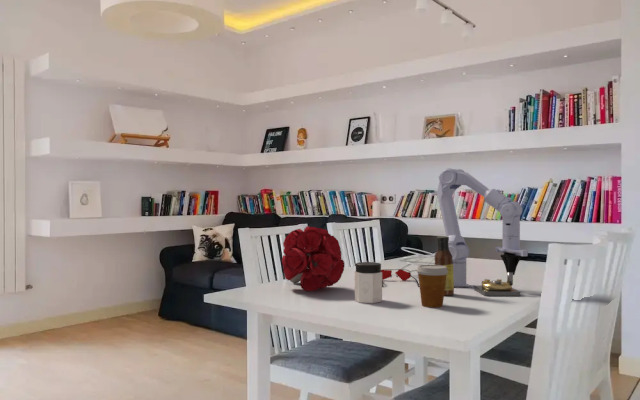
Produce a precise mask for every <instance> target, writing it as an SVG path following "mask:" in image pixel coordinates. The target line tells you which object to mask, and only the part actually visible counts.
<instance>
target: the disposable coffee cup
mask: <svg viewBox="0 0 640 400" xmlns="http://www.w3.org/2000/svg"><path fill="white" fill-rule="evenodd" d="M415 271H416V273H417V277H418V284H419V292H420V293H419V294H420V300H421V306H423V307H426V308H441V307H443V304H444V297H445V295H444V291H445V283H446V275H447V272H448V271H447V267H446V266H442V265H435V264H420V265H418V266H417V269H416V270H415Z"/></svg>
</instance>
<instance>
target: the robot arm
mask: <svg viewBox="0 0 640 400" xmlns="http://www.w3.org/2000/svg"><path fill="white" fill-rule="evenodd" d="M438 180H439V181H438V187H437V189H436V196H437V199H438V203H439V210H440V214H441V218H442V224H443V228H444V234H445V236H448V237H449V241H448V245H449V251H450V253H451V255H452V260H453V276H454V288H455V287H459V288H460V287H462V288H466V287H468V288H469V287H470V286H471V285H469V284H468V283H467V259H468V257H469V256H470V253H471V252H470V248H469V246H468V245H467V244H466V240H465V238H464V237H463V236H462V235H461V230H460V226H459V221H458V216H457V212H456V206H455V201H454V198H453V195H454V193H455V192H456V191H457V189H459V188H460V187H462V186H467V187H468V188H469V189H471V190H473V191H474V192H476V193H477V194H479V195H481V196H482V197H483V200H484V202H485V203H486V204H487V205H489V206H491V207H492V208H493V209H495V210H496V211H498V212H499V214H500V216H501V217H502V235H501V237H502V246H495V253H501V254H500V257H501V259H502V262H503V264H504V267H505V271H506V273H507V272H513V276H515V274H516V270H517V267H518V264H519V262H520V261H521V259H522V257H528V251H529V250H526V249H522V248H520V247H521V246H520V245H521V243H520V241H521V222H520V221H521V218H520V217H521V215H522V213H523V206H522V204H520V203H519V202H518V201H515V200H514V201H512V200H513V198H511V197H508V196H506V195H504V193H502V190H500V189H496V188H492V189H490V188H488V187H487V186H485V185H484V184H483V183H482V182H480V181H479V180H478V179H476V178H475V177H474V176H473V175H471V174H470V173H469V172H466V171H465V170H463V169H460V168H450V167H449V168H448V167H447V168H445V169H443V170H442V171H441V173H440V174H439V176H438Z"/></svg>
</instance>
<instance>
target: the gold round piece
mask: <svg viewBox="0 0 640 400" xmlns="http://www.w3.org/2000/svg"><path fill="white" fill-rule="evenodd" d="M506 274H507V275H506V277H507V278H506V279H507V280H506V282H505V281H502V280H503V279H500V278H499V279H496V280H491V279H484V280H481V286H482V288H484V289H488V290H499V291H504V290H511V289H512V288H513V285H514V275H513V272H507V271H506Z"/></svg>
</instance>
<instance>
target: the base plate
mask: <svg viewBox="0 0 640 400" xmlns="http://www.w3.org/2000/svg"><path fill="white" fill-rule="evenodd" d="M473 289H474V291H476V292H477V293H479V294H480V295H483V296H484V297H521V291H519V290H518V289H516V288H514V287H512V289H511V290H504V291H499V290H488V289H484V288H482V285H474V286H473Z"/></svg>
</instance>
